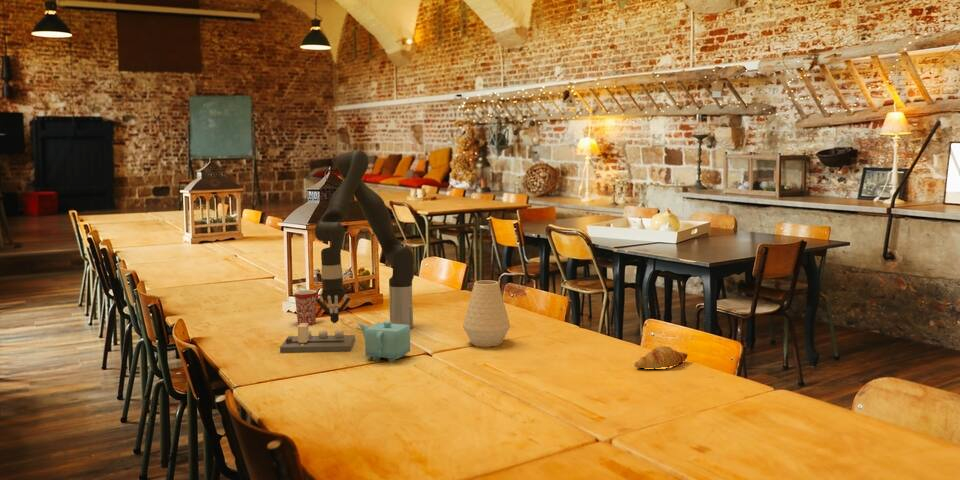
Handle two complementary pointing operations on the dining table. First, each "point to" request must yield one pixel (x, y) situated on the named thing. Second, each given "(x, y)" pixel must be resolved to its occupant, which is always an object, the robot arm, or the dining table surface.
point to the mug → (307, 306)
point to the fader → (303, 333)
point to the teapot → (386, 340)
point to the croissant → (661, 358)
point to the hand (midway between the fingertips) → (334, 322)
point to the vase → (486, 315)
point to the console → (319, 343)
